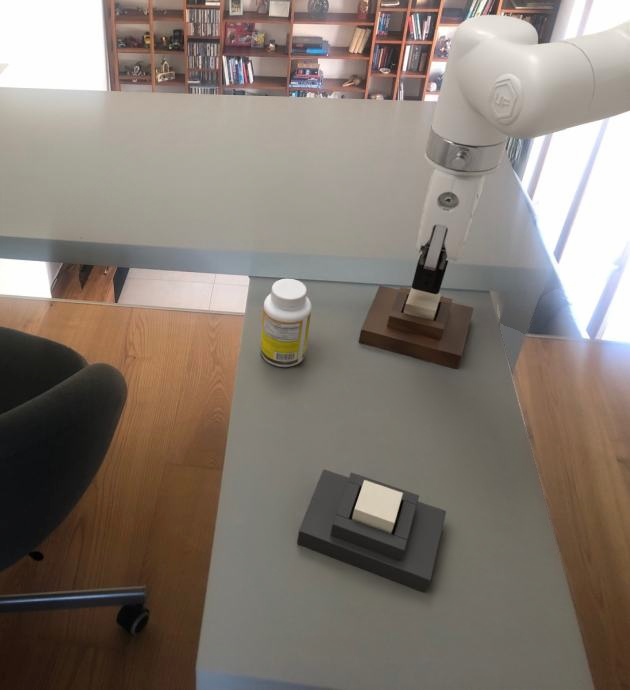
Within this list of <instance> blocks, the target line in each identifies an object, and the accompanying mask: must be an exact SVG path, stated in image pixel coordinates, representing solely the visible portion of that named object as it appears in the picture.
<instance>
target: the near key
mask: <svg viewBox="0 0 630 690" xmlns="http://www.w3.org/2000/svg"><path fill="white" fill-rule="evenodd" d="M402 495H403V493H402V492H399V491H396V490H393V489H390V488H387V487H384V486H381V485H378V484H375V483H372V482H369V481H366V480H364V482H363V485H362V488H361V491H360V494H359V497H358V500H357V503H356V506H355V509H354V513H353V517H352V520H354V521H357V522H359V523H362V524H365V525H368V526H370V527H373V528H376V529H379V530H382V531H384V532H387V533H390V534H391V533H392V530H393V527H394V524H395V520H396V517H397V513H398V509H399V506H400V502H401V499H402Z"/></svg>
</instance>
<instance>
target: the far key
mask: <svg viewBox="0 0 630 690" xmlns="http://www.w3.org/2000/svg"><path fill="white" fill-rule="evenodd" d="M410 289H411V291H410V293H409V296H408V299H407V302H406V305H405V309H404V313H405V314H409V315H413V316H417V317H421V318H425V319H429V320H432V321H433V320H434V317H435V314H436V310H437V307H438V304H439V301H440V297H442V294H441V293H438V294H432V293H428V292H424V291H420V290H415V289H413V288H412V287H411V288H410Z"/></svg>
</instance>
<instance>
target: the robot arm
mask: <svg viewBox="0 0 630 690" xmlns="http://www.w3.org/2000/svg"><path fill="white" fill-rule="evenodd" d="M440 84H441V85H440V89H439V93H438V97H437V101H436V105H435V110H434V113H433V118H432V121H431V126H430V130H429V134H428V138H427V143H426V147H425V151H424V160H425V162H426V163H427V164H428V165H429V166H430V167H432V171H431V175H430V179H429V183H428V187H427V191H426V195H425V199H424V204H423V208H422V213H421V218H420V224H419V228H418V234H417V238H416V239H417V240H416V245H415V250H416V251H417V253H418V254H420V253H421V254H420V255H419V258H418V260H417V264H416V268H415V273H414V276H413V279H412V283H411V288H413V289H415V290H420V291H424V292H428V293H432V294H440V291H441V288H442V285H443V281H444V277H445V275H446V274H445V273H446V270H447V267H448V264H449V260H452V262H456V261H459V260H460V259H461V258H462V255H463V252H464V249H465V245H466V243H467V240H468V237H469V233H470V230H471V227H472V224H473V220H474V218H475V215H476V212H477V208H478V205H479V201H480V199H481V196H482V191H483V188H484V185H485V180H486V176H488V175H491V174H493V173H495V172H497V170H498V169H499V168H500V165H501V163H502V162H501V161H502V159H503V156H504V152H505V149H506V146H507V143H508V140H509V138H512V139H516V140H530V139H534V138H540V137H542V136H547V135H550V134H554V133H558V132H561V131H565V130H567V129H570V128H575V127H578V126H581V125H585V124H591V123H594V122H597V121H601V120H606V119H609V118H613V117H616V116H619V115H622V114H624V113H625V114H626V113H628V112H630V19H629V20H626V21H625V22H623V23H620V24H618V25H616V26H613V27H611V28H608V29H606V30H603V31H600V32H596V33H595V32H594V33H590V34H585V35H580V36H575V37H571V38H566V39H562V40H557V41H553V42H546V43H539V34H538V32H537V29H536V27H534V25H532V23H530V22H527V20H523V19H522V18H518V17H514V16H509V15H503V14H502V15H501V14H483V15H477V16H472V17H469V18H467V19H465V20H463V21H462V22H461V23H459V25H458V26H457V28H456V29H455V30H454V32H453V35H452V39H451V43H450V46H449V50H448V54H447V58H446V64H445V68H444V72H443V76H442V80H441V83H440Z"/></svg>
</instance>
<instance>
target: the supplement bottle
mask: <svg viewBox="0 0 630 690" xmlns="http://www.w3.org/2000/svg"><path fill="white" fill-rule="evenodd" d="M262 308H263V309H262V321H261V338H260V354H261V356H262V358H263V359H264V360H265V361H266V362H267V363H269V364H270V365H273V366H276V367H280V368H281V367H282V368H289V367H293V366H296V365H298V364H300V363H301V362H302V361H303V360H304V358H305V356H306V352H307V342H308V337H309V330H310V322H311V314H312V302H311V299H309V298H308V296H307V287H306V285H305V284H304V283H303V282H302V281H300V280H299V279H298V280H297V279H294V278H282V279H279V280H276V281H275V282H274V283H273V284H272V286H271V291H270V293H269V294H268V295H267V296H266V297H265V298H264V302H263V307H262Z"/></svg>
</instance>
